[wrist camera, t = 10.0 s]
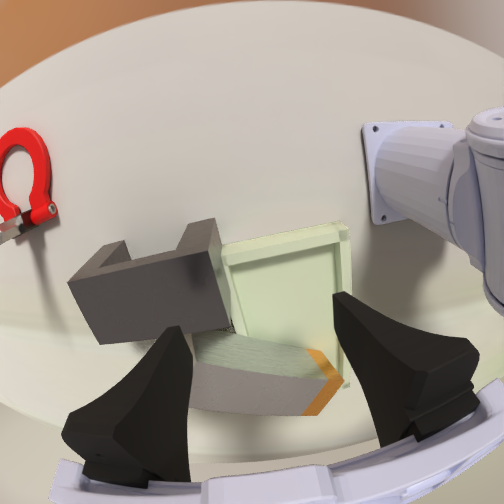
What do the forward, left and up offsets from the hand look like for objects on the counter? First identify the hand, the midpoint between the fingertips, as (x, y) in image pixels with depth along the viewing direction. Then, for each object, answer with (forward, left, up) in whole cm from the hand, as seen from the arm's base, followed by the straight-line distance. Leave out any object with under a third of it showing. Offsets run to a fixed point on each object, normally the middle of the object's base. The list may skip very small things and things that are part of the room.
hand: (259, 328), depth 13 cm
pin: (+2, +9, -7) cm, 12 cm away
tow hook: (+18, -11, -10) cm, 23 cm away
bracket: (+6, 0, -9) cm, 11 cm away
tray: (-3, +8, -9) cm, 13 cm away
